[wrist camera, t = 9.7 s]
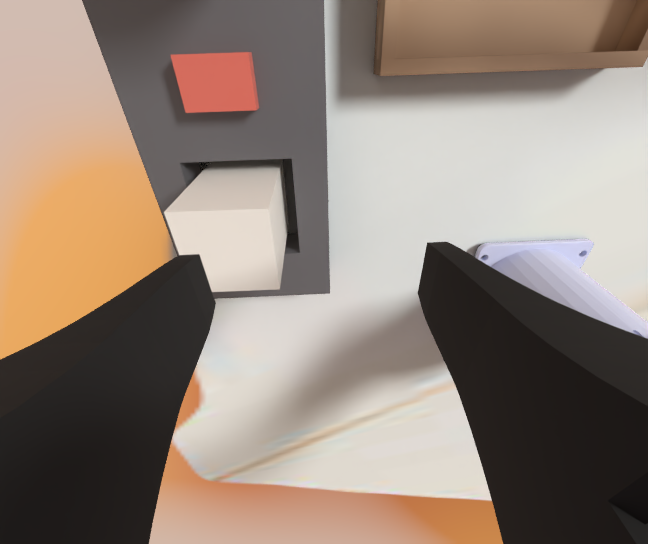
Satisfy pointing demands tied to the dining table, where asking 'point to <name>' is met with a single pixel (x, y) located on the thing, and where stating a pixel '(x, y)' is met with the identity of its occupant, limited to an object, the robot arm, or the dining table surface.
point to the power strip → (227, 103)
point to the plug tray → (508, 35)
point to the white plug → (234, 223)
